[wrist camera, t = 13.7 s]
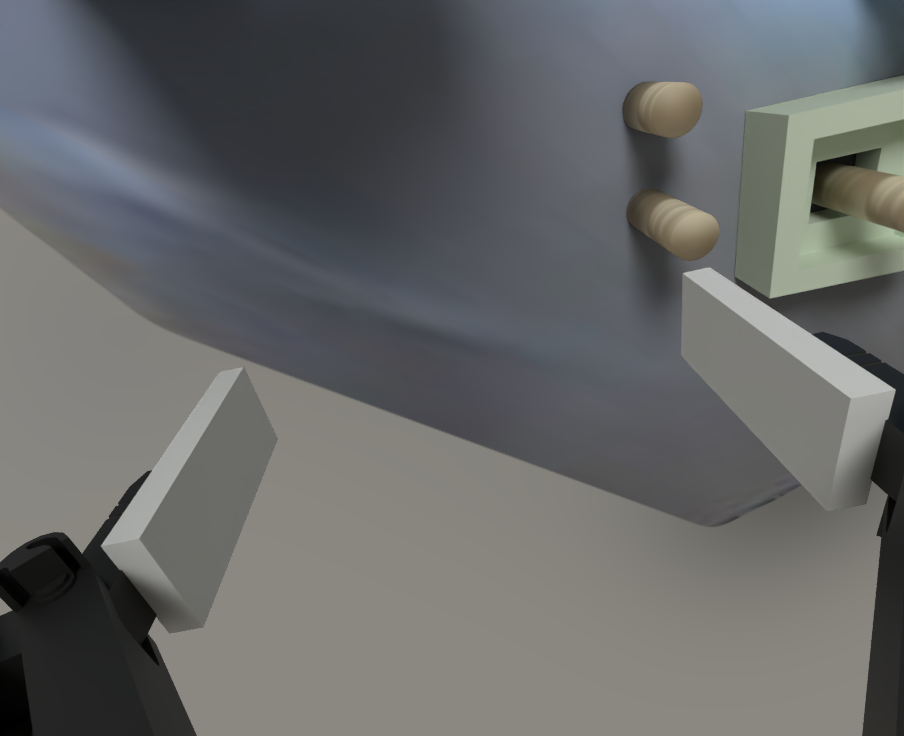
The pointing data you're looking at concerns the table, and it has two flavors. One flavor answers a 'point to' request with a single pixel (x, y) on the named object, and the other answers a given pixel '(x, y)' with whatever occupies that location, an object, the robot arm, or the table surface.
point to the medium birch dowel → (673, 224)
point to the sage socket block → (791, 186)
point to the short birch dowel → (663, 108)
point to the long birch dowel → (861, 193)
